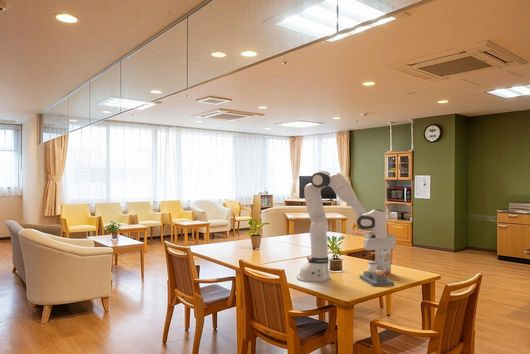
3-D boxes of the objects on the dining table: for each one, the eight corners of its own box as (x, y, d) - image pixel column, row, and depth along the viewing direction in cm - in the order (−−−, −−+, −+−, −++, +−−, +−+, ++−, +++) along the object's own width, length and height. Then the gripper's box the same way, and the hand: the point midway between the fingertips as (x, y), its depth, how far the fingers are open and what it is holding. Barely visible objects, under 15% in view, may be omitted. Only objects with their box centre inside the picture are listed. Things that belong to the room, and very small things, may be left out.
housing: (372, 286, 241) (372, 277, 241) (359, 278, 260) (359, 269, 260) (393, 285, 243) (393, 276, 243) (379, 277, 263) (379, 268, 263)
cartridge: (370, 277, 254) (370, 263, 254) (367, 275, 259) (367, 261, 259) (378, 277, 255) (378, 262, 255) (374, 275, 260) (374, 261, 260)
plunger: (377, 277, 244) (377, 271, 244) (374, 275, 249) (374, 270, 249) (384, 277, 245) (384, 271, 245) (381, 275, 249) (381, 269, 249)
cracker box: (383, 277, 262) (383, 246, 262) (374, 275, 266) (374, 245, 266) (391, 273, 273) (391, 243, 273) (383, 271, 277) (383, 242, 277)
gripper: (392, 233, 252) (392, 254, 252) (362, 234, 248) (362, 256, 248) (397, 234, 245) (397, 256, 245) (366, 236, 242) (367, 258, 242)
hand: (379, 256), depth 247 cm, fingers closed
